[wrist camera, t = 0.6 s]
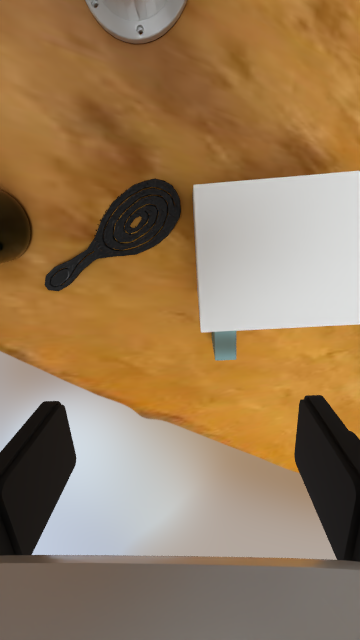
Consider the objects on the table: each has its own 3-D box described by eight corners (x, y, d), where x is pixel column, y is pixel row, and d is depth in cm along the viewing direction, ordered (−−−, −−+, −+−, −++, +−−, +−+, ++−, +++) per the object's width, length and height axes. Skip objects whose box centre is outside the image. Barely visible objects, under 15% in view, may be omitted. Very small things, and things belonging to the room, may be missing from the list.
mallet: (207, 221, 40) (211, 223, 33) (228, 220, 40) (236, 221, 33) (211, 339, 47) (215, 360, 40) (229, 338, 47) (236, 359, 40)
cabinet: (192, 194, 39) (193, 184, 24) (318, 184, 38) (399, 167, 23) (197, 291, 44) (200, 332, 29) (308, 284, 43) (370, 323, 28)
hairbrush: (20, 268, 41) (156, 160, 34) (34, 263, 44) (161, 164, 38) (58, 313, 43) (192, 220, 37) (68, 305, 47) (193, 218, 40)
